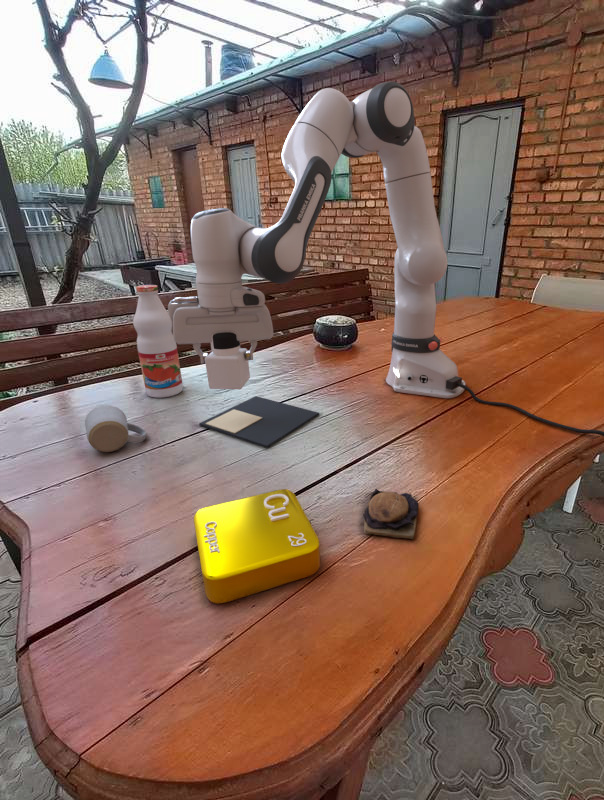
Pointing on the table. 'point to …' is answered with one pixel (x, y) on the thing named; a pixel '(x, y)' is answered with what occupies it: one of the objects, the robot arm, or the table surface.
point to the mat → (260, 421)
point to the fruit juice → (156, 345)
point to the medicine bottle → (227, 363)
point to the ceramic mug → (110, 429)
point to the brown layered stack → (391, 514)
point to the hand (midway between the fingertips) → (227, 361)
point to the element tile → (254, 545)
